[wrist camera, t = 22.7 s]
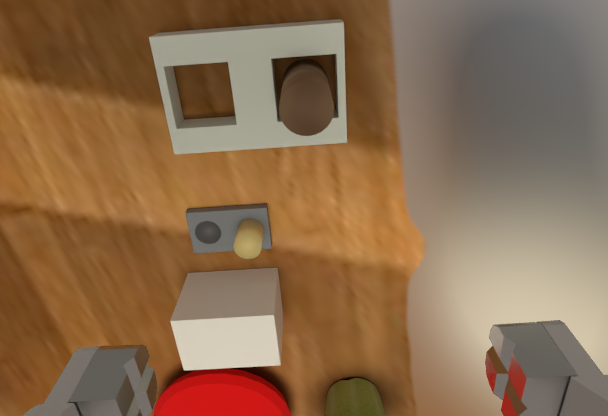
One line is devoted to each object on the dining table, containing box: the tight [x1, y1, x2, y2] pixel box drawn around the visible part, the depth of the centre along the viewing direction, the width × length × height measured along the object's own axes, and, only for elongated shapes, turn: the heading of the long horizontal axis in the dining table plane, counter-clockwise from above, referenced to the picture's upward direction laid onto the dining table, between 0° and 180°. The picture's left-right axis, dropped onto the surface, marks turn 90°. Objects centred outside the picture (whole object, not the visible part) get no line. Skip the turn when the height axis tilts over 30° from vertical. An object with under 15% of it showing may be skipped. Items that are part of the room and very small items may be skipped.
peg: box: [279, 59, 334, 136], centre depth 33 cm, size 4×4×8 cm
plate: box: [186, 204, 272, 259], centre depth 41 cm, size 7×4×4 cm, turn 94°
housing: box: [170, 267, 283, 371], centre depth 43 cm, size 9×6×7 cm, turn 94°
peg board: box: [149, 19, 347, 155], centre depth 35 cm, size 14×9×2 cm, turn 94°
